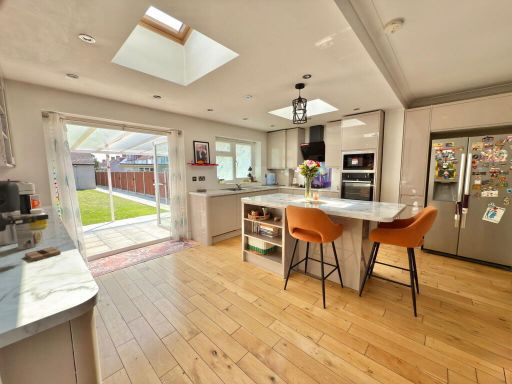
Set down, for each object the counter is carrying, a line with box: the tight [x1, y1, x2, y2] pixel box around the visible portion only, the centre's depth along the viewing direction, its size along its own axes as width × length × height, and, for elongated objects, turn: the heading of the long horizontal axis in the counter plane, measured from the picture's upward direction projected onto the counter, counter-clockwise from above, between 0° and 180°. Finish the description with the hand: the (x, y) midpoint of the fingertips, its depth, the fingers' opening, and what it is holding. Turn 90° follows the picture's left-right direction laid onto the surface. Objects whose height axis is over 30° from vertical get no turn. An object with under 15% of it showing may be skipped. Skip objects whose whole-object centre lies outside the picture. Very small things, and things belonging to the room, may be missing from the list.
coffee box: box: [15, 223, 45, 250], centre depth 106 cm, size 9×6×16 cm
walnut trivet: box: [24, 246, 62, 262], centre depth 93 cm, size 11×9×2 cm
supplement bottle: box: [29, 208, 48, 232], centre depth 91 cm, size 5×5×10 cm
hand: (45, 216), depth 93 cm, fingers closed on supplement bottle, 5 cm apart
